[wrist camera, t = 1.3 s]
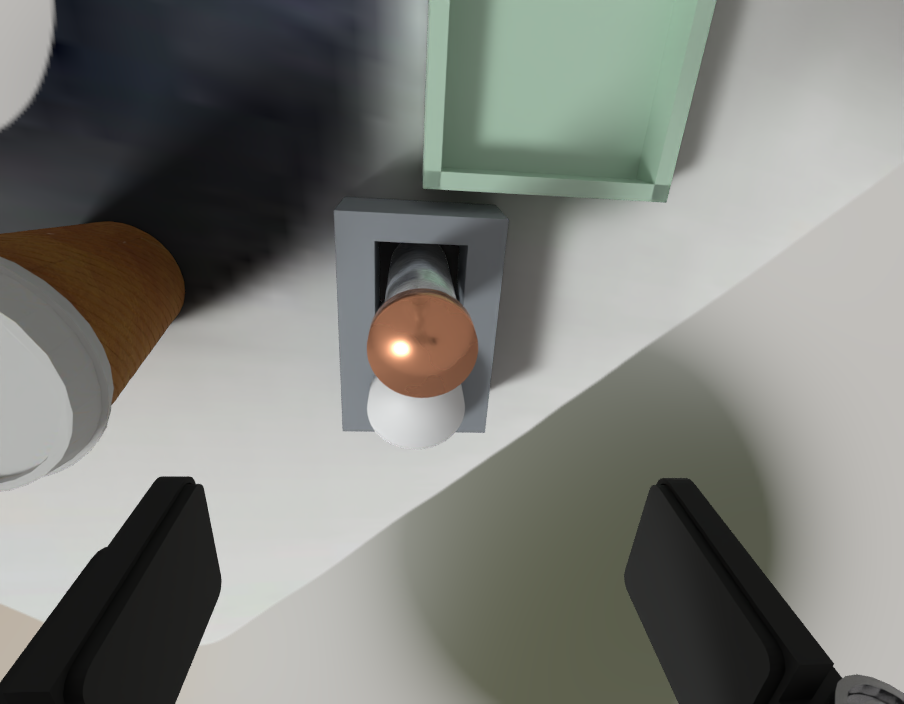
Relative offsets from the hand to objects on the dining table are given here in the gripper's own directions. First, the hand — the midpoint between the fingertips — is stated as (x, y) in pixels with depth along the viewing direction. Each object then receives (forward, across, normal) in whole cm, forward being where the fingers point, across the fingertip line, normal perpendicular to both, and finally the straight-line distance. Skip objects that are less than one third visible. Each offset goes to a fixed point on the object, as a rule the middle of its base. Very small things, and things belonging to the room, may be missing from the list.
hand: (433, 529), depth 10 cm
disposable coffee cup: (+19, +16, +1) cm, 25 cm away
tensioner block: (+19, 0, +2) cm, 19 cm away
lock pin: (+19, 0, 0) cm, 19 cm away
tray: (+19, -6, -12) cm, 23 cm away
